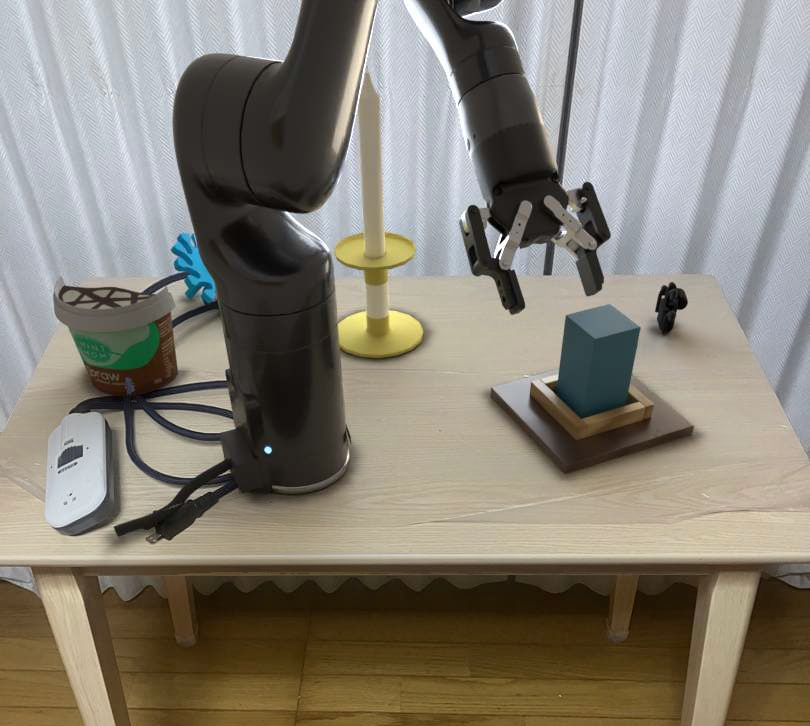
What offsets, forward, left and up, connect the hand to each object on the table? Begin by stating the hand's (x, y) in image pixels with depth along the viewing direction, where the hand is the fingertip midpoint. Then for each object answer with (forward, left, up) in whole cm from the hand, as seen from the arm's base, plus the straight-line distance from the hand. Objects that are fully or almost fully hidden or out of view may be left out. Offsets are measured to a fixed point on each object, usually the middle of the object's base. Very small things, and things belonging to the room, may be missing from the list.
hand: (557, 302), depth 83 cm
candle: (-12, +16, -9) cm, 22 cm away
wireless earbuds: (+17, +3, -9) cm, 19 cm away
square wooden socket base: (0, -7, -8) cm, 11 cm away
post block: (0, -7, -7) cm, 10 cm away
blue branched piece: (-26, +32, -9) cm, 42 cm away
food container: (-40, +18, -9) cm, 45 cm away
